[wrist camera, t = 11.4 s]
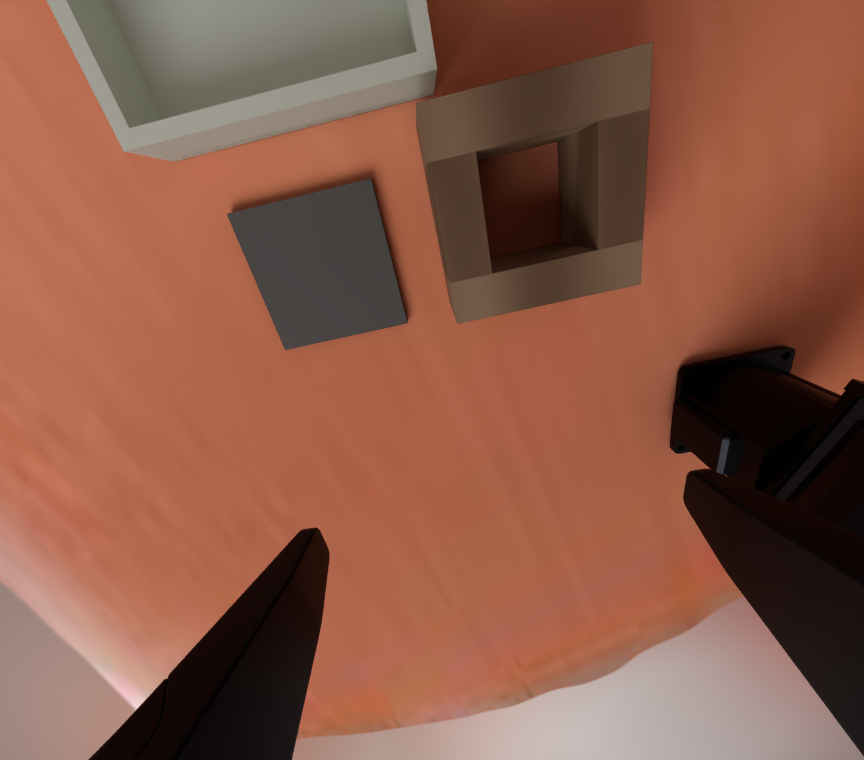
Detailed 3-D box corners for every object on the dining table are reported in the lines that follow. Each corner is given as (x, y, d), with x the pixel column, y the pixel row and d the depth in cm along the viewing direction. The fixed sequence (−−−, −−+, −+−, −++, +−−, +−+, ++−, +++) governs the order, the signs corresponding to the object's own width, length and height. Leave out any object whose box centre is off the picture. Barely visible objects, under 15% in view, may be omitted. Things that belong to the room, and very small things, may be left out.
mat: (371, 179, 16) (370, 178, 16) (407, 321, 19) (407, 323, 19) (230, 213, 17) (226, 213, 16) (287, 347, 20) (285, 350, 19)
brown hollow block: (596, 82, 15) (653, 41, 11) (597, 269, 18) (640, 284, 15) (416, 128, 16) (415, 103, 12) (450, 302, 19) (457, 323, 15)
